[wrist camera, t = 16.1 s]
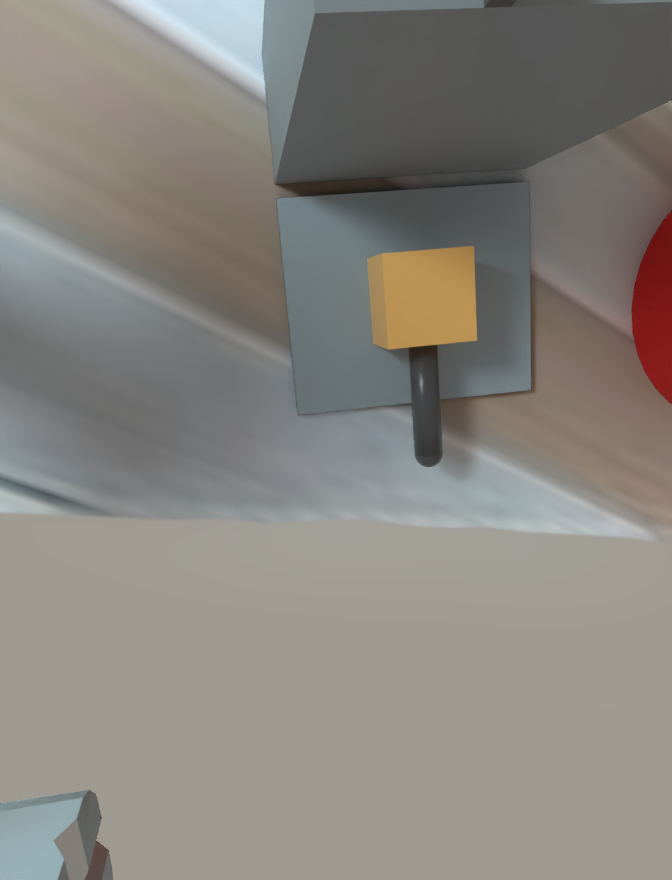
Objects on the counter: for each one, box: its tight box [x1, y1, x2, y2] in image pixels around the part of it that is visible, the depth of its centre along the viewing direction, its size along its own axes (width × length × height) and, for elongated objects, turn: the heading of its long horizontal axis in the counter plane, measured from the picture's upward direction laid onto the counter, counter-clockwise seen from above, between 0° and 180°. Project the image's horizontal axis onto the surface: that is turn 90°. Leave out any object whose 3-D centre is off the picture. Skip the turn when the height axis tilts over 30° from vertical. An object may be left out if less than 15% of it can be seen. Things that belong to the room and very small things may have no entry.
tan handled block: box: [367, 246, 477, 467], centre depth 43 cm, size 6×15×5 cm, turn 5°
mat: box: [276, 182, 531, 415], centre depth 44 cm, size 18×15×1 cm
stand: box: [262, 0, 672, 184], centre depth 28 cm, size 18×8×28 cm, turn 95°
